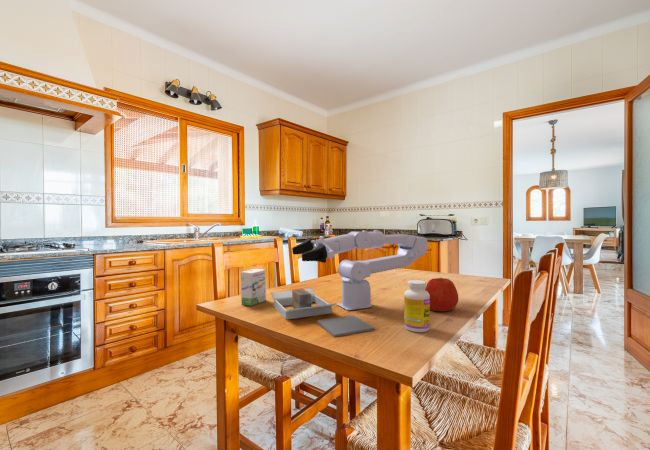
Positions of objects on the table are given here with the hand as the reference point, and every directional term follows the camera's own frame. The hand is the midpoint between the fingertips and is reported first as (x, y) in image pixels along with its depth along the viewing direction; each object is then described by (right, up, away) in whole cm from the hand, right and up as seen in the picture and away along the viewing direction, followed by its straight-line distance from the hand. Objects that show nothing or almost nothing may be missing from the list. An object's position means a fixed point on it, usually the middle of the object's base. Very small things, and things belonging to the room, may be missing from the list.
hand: (297, 254), depth 95 cm
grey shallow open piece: (+1, -19, +6) cm, 20 cm away
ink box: (-17, -19, +16) cm, 30 cm away
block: (+1, -19, +6) cm, 20 cm away
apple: (+47, -19, +5) cm, 51 cm away
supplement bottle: (+34, -19, -13) cm, 41 cm away
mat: (+14, -19, -10) cm, 26 cm away
